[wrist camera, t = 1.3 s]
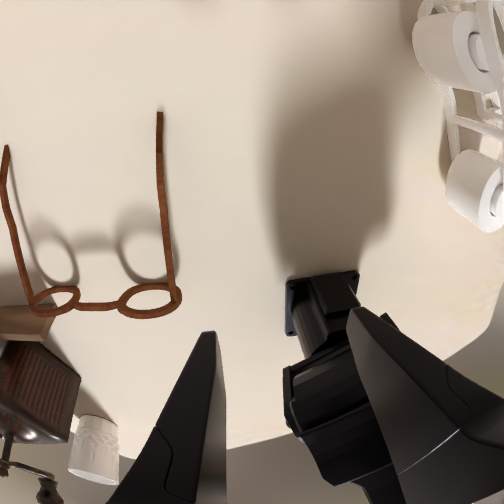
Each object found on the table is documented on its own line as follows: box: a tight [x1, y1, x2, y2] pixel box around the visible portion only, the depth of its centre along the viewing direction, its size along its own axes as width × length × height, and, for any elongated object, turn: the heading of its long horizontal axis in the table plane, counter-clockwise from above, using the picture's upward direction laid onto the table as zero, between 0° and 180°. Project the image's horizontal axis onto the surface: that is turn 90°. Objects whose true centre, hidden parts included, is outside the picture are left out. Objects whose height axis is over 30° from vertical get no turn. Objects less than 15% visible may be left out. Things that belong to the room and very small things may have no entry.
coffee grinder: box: [0, 339, 81, 504], centre depth 19 cm, size 16×11×18 cm
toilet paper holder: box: [412, 0, 504, 233], centre depth 13 cm, size 20×11×7 cm, turn 26°
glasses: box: [0, 112, 182, 319], centre depth 16 cm, size 13×13×5 cm
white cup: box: [68, 415, 119, 485], centre depth 30 cm, size 8×8×10 cm
